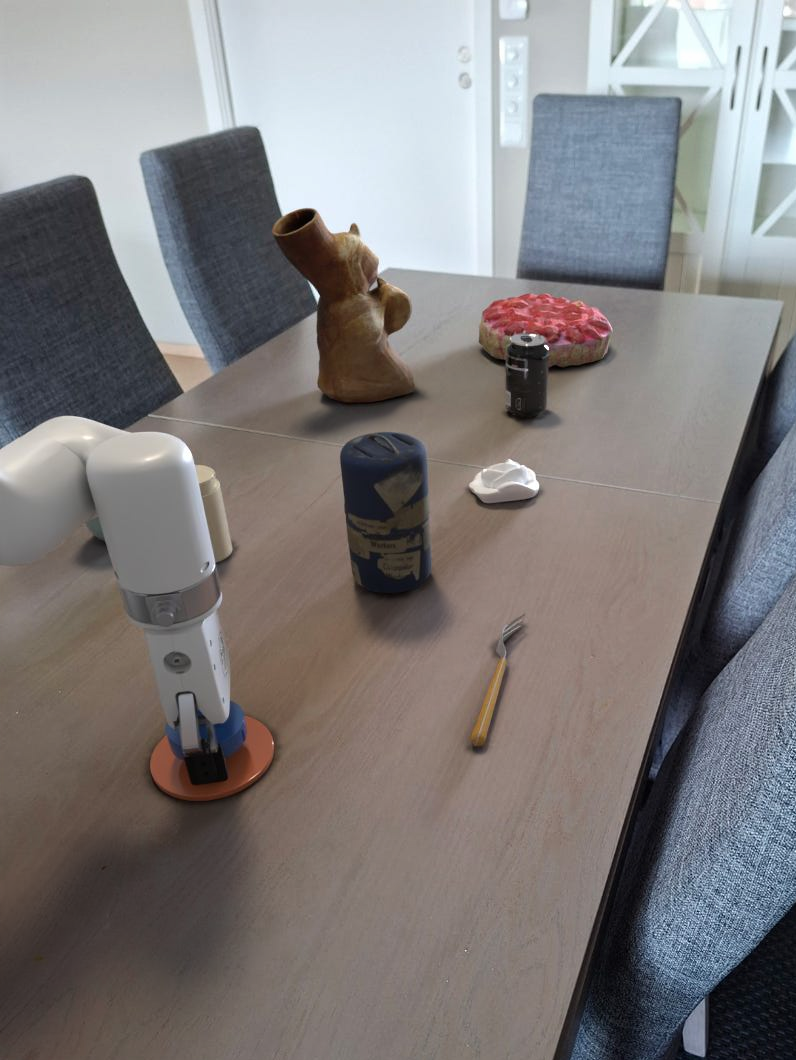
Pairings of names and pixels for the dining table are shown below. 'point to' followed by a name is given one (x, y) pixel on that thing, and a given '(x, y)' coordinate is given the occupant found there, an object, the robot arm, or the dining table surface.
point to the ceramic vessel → (348, 309)
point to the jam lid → (226, 733)
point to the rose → (505, 483)
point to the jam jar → (214, 512)
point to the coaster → (240, 765)
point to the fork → (493, 688)
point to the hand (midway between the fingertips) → (211, 750)
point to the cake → (547, 327)
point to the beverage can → (526, 375)
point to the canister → (387, 510)
